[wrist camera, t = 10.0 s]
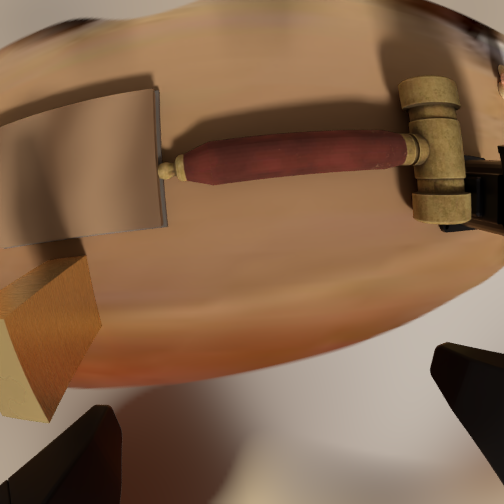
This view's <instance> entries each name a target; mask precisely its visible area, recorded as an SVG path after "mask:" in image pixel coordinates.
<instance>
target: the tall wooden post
mask: <svg viewBox="0 0 504 504" xmlns="http://www.w3.org/2000/svg"><path fill="white" fill-rule="evenodd" d="M101 326H102V324H101V321H100V317H99V313H98V309H97V305H96V300H95V296H94V292H93V287H92V283H91V278H90V273H89V268H88V262H87V257H86V255H84V256H76V257H68V258H60V259H52V260H48V261H46V262H45V263H43V264H41V265H40V266H38V267H36V268H35V269H33V270H31V271H30V272H28V273H27V274H25V275H23V276H22V277H20V278H19V279H17V280H15V281H14V282H12V283H11V284H9V285H8V286H6V287H5V288H3V289H2V290H0V412H1V414H2V415H3V416H6V417H11V418H17V419H23V420H29V421H36V422H43V423H50V421H51V419H52V417H53V415H54V413H55V411H56V409H57V406H58V405H59V403H60V401H61V399H62V397H63V395H64V393H65V391H66V389H67V387H68V385H69V383H70V381H71V380H72V378H73V376H74V374H75V372H76V370H77V368H78V367H79V365H80V363H81V361H82V359H83V358H84V356H85V354H86V352H87V351H88V349H89V347H90V345H91V344H92V342H93V340H94V338H95V337H96V335H97V333H98V332H99V330H100V328H101Z"/></svg>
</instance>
